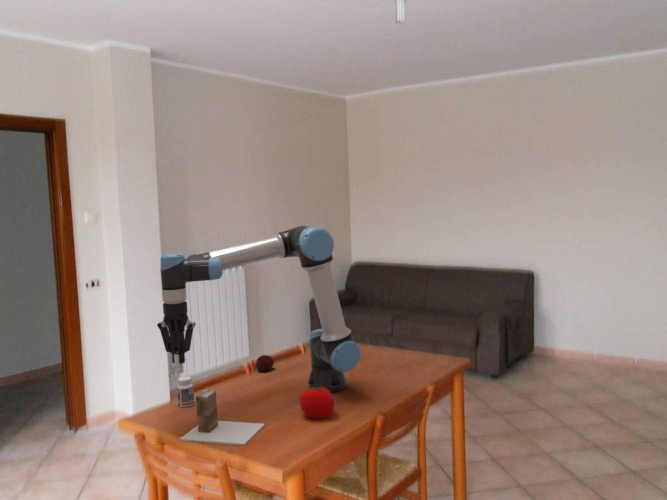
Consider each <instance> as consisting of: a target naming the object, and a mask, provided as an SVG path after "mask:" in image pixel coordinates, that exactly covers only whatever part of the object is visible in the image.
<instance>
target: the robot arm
mask: <svg viewBox="0 0 667 500" xmlns="http://www.w3.org/2000/svg"><path fill="white" fill-rule="evenodd" d="M334 248H335V242H334V239H333V236H332V235H331V233H330V232H329V231H328V230H326V229H325V228H323V227H320V226H318V225H309V226H308V225H307V226H306V225H299V226H296V227H292V228H290V229H287V230H286V229H285V230H283V231H281V232H276V233H275V234H273V236H271V237H266V238H263V239H258V240H254V241H250V242H245V243H240V244H236V245H233V246H228V247H224V248H221V249H216V250H211V251H207V252H203V253H200V254H196V253H195V254H190V255H188V256H186V258H185V255H184V254H183V253H167V254H163V255H161V257H160V268H159V270H160V280H161V281H160V282H161V293H162V294H161V297H162V302H163V304H162V309H163V311H162V312H163V320H162V321H160V322H158V323H157V324H156V326H157V327H158V329H159V331H160V334H161V337H162V338H161V339H162V343H163V344H164V345H163V346H164V349H165V352H166V353H170V354H171V361H172V364H174V375H181V374H183V373H184V364H185V362H186V358H185V353H187V352H189V351H190V349H191V345H192V338H193V333H194V332H193V331H194V329H195V327H196V322H192V321H191V320H189V316H188V302H187V299H188V298H187V283H191V282H203V281H204V282H205V281H215V280H220V279H221V278H222V276H223V272H224V271H225V270H230V269H234V268H238V267H242V266H246V265H250V264H254V263H258V262H261V261H262V262H263V261H266V260H269V259H270V260H271V259H273V258H280V259H287V258H292V257H296V258H299V259H298V260H299V262H300V267H301V268H302V269H303V270H304V271H306V272H307V276H308V280H309V283H310V288H311V291H312V295H313V300H314V302H315V307H316V309H317V310H316V311H317V314H318V317H319V320H320V322H319V323H320V326H321V328H318V329H313V330H312V331H310V333H309V345H310V363H311V370H310V373H309V377H308V381H307V389H309V388H316V387H325V388H326V389H329V391H330V393H331V394H332V393H338V392H340V391H343V390H345V389H346V388H347V384H348V383H347V378H346V376H345V373H347V372H350V371H352V370H354V369H355V368H357V366H358V364H359V362H360V361H361V359H362V350H361V347H360V346H359V345H358V343H357V342H356V341H355V340H354V337H353V333H352V329H350V328H348V327H347V326H346V322H345V318H344V314H343V310H342V307H341V302H340V299H339V294H338V290H337V286H336V282H335V279H334V275H333V271H332V267H331V264H332V263H333V261H334V257H333V250H334ZM185 328H186V329H185Z"/></svg>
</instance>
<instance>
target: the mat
mask: <svg viewBox="0 0 667 500" xmlns="http://www.w3.org/2000/svg"><path fill="white" fill-rule="evenodd" d="M265 426H266V424H265V423H259V422H258V423H256V422H243V421H242V422H241V421H226V420H225V421H224V420H218V426H217V427H216V428H215V429H213V430H212V431H211V432H210V433H206V432H198V424H197V425H196V426H195V427H193V428H192V429H190V431H188V432H187V433H186V434H184V435H183V436H182V437H180V438H179V442H180V441H181V442H190V441H193V442H192V443H194V441H195V443H202V442H204V443H205V444H214V445H215V444H216V445H217V444H218V445H228V446H229V445H230V446H241V447H242V446H243V447H244V446H246V445H247V444H248V443H249V442H250V441H251V440H252V439H253V438H254V437H255V436H256V435H258V433H259V432H260V431H261V430H262V429H263V428H264V427H265Z"/></svg>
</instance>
